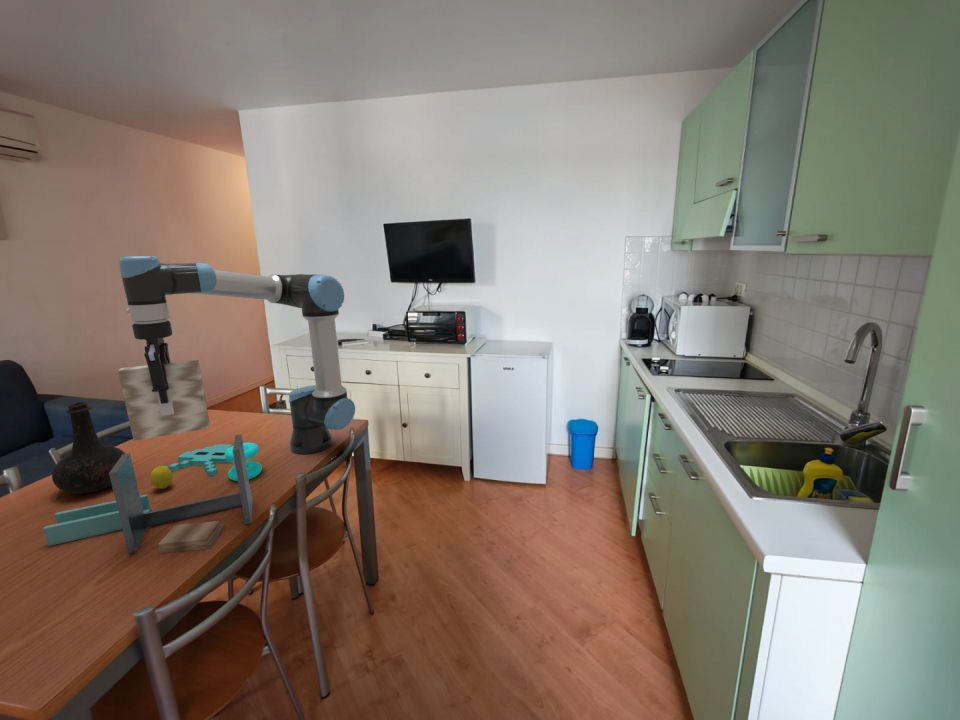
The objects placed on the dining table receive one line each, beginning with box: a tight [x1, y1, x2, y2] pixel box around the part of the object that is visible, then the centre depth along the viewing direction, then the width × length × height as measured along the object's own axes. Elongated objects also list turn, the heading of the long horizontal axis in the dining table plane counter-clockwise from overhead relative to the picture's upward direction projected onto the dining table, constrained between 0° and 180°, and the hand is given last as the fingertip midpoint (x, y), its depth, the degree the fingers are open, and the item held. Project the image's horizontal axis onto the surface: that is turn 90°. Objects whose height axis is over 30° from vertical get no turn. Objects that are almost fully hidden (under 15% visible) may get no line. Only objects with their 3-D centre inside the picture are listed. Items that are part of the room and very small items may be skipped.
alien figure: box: [164, 443, 234, 477], centre depth 154 cm, size 20×2×20 cm
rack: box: [109, 434, 254, 554], centre depth 114 cm, size 27×12×22 cm, turn 116°
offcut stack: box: [157, 520, 226, 554], centre depth 111 cm, size 12×8×3 cm
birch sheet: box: [117, 359, 211, 442], centre depth 109 cm, size 16×3×18 cm, turn 116°
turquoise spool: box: [225, 442, 263, 482], centre depth 142 cm, size 10×10×10 cm
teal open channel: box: [42, 493, 152, 547], centre depth 117 cm, size 20×8×5 cm, turn 116°
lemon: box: [149, 465, 173, 490], centre depth 135 cm, size 6×6×8 cm
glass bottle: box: [51, 401, 126, 495], centre depth 134 cm, size 18×18×28 cm
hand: (169, 411), depth 110 cm, fingers closed on birch sheet, 3 cm apart
